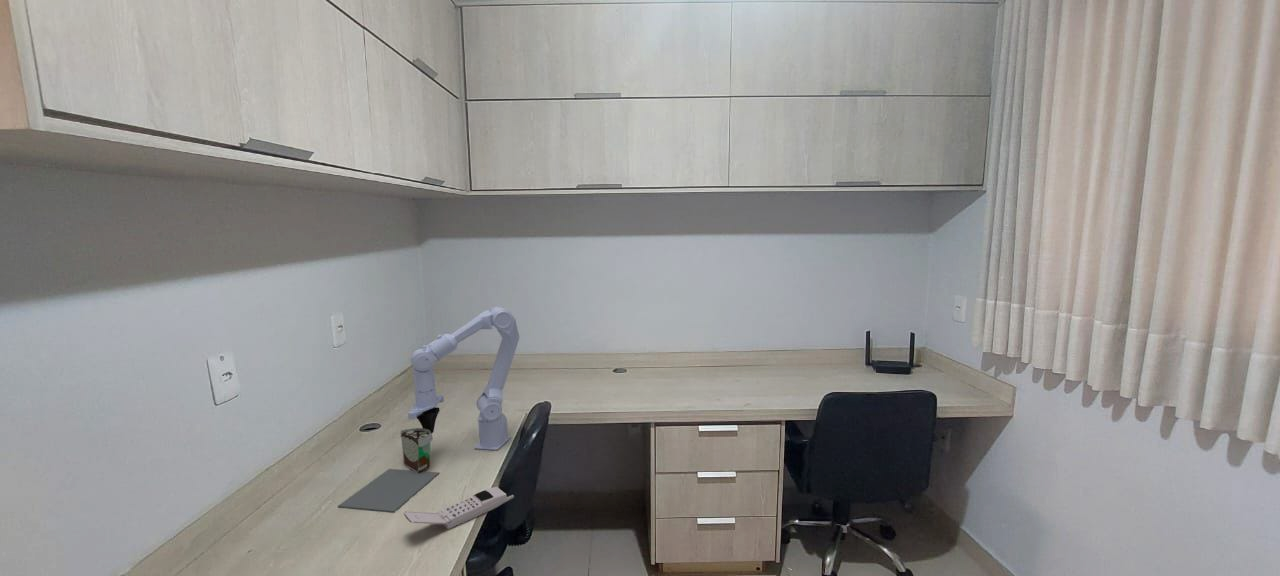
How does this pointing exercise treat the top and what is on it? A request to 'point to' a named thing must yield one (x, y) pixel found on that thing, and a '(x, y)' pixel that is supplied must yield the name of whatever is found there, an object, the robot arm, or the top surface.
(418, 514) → the mobile phone
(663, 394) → the top surface
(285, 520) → the top surface
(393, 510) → the charcoal mat
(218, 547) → the top surface
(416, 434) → the food container
